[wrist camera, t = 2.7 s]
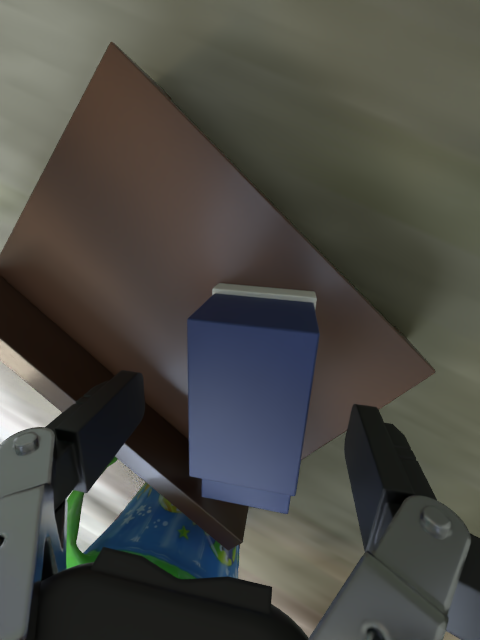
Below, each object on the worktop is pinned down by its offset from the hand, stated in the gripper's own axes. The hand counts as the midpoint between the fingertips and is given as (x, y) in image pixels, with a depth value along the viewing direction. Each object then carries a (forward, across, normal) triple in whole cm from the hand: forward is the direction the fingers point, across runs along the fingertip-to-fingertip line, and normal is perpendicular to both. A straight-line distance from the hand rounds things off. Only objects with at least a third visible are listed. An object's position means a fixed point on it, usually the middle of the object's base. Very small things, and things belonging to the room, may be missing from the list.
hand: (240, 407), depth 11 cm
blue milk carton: (+4, 0, +2) cm, 5 cm away
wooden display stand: (+8, +4, -2) cm, 9 cm away
